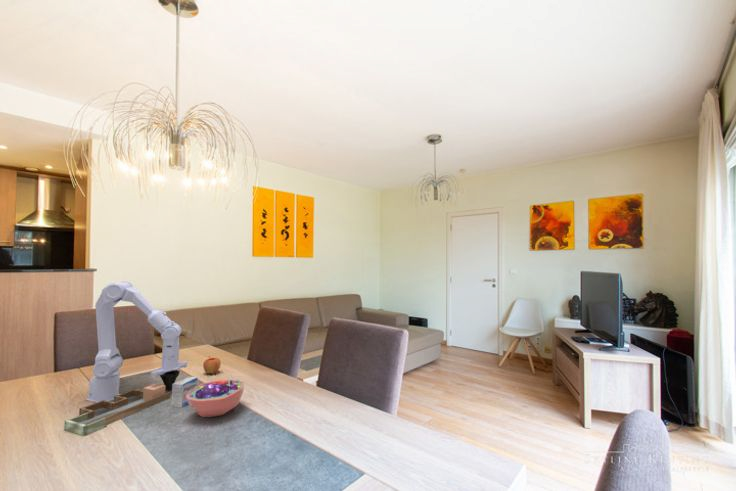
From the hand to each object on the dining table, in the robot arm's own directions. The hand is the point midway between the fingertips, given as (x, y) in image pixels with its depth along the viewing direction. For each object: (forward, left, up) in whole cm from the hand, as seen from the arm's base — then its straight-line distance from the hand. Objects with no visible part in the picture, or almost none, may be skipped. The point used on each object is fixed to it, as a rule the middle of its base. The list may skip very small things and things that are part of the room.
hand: (168, 390), depth 132 cm
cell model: (+29, -5, -2) cm, 30 cm away
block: (0, -6, -1) cm, 6 cm away
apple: (-3, +25, -2) cm, 25 cm away
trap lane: (-3, -18, -1) cm, 18 cm away
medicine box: (+13, -4, -2) cm, 14 cm away
